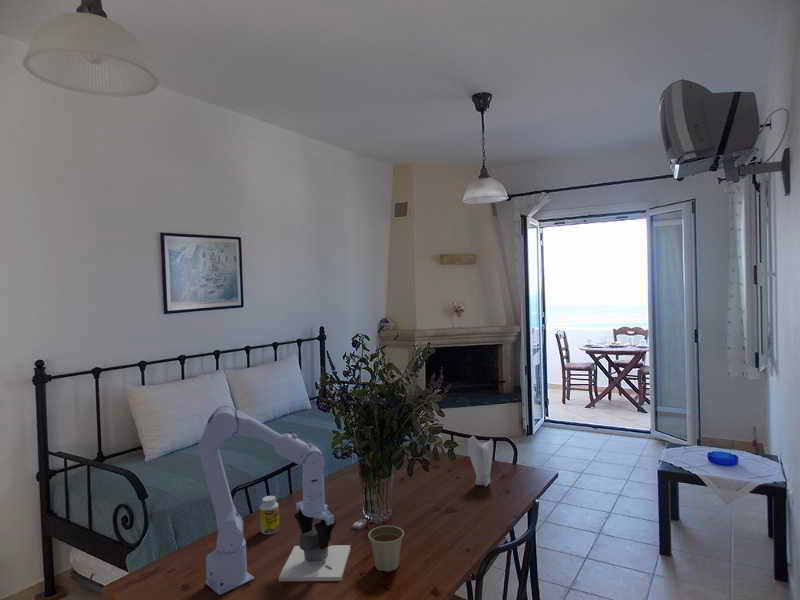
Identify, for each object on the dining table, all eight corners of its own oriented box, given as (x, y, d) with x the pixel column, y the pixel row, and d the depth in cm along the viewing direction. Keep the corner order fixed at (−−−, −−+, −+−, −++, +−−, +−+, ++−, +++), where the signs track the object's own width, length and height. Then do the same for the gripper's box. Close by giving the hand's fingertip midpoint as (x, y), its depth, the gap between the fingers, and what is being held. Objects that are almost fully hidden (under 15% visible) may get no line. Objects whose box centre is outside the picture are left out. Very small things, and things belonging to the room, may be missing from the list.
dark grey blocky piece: (310, 565, 132) (309, 541, 132) (296, 557, 137) (295, 533, 137) (336, 553, 138) (335, 529, 138) (322, 545, 143) (321, 522, 143)
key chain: (360, 532, 156) (360, 527, 156) (350, 530, 158) (350, 525, 158) (380, 514, 168) (380, 510, 168) (370, 513, 169) (370, 508, 169)
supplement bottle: (264, 537, 154) (262, 503, 154) (258, 530, 159) (257, 497, 159) (282, 531, 157) (280, 498, 157) (275, 525, 162) (274, 493, 162)
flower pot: (385, 553, 142) (384, 522, 142) (412, 563, 136) (411, 531, 136) (362, 568, 135) (360, 535, 135) (389, 579, 129) (387, 545, 129)
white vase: (497, 482, 190) (495, 434, 190) (488, 490, 183) (487, 440, 183) (476, 478, 195) (475, 431, 195) (467, 486, 188) (466, 437, 188)
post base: (341, 580, 129) (340, 572, 129) (278, 581, 130) (278, 573, 130) (350, 548, 145) (350, 541, 145) (294, 549, 146) (294, 542, 146)
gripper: (342, 495, 135) (344, 546, 135) (310, 482, 145) (312, 529, 145) (320, 503, 130) (322, 556, 130) (288, 489, 140) (291, 538, 140)
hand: (315, 543), depth 137 cm, fingers open, 7 cm apart
